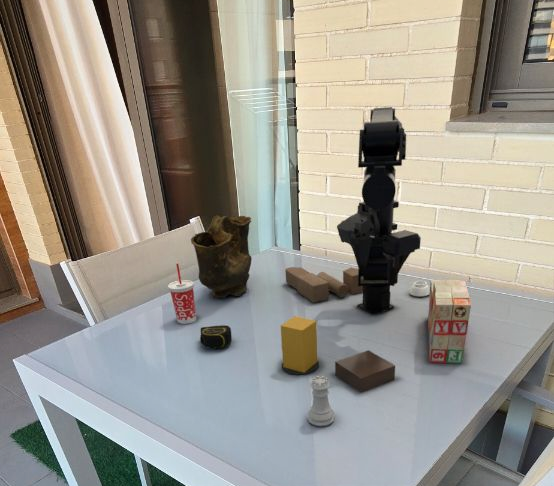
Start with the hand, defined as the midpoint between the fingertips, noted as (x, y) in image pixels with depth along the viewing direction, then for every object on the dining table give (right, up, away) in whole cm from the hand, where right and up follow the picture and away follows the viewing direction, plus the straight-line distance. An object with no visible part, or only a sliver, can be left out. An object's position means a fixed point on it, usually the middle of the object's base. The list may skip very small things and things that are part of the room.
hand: (375, 277), depth 111 cm
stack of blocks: (+15, -13, +3) cm, 20 cm away
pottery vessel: (-33, +6, +36) cm, 50 cm away
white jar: (+16, +2, +25) cm, 30 cm away
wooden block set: (-7, +6, +34) cm, 35 cm away
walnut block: (-4, -21, -8) cm, 23 cm away
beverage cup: (-42, -5, +22) cm, 48 cm away
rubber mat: (-16, -18, -2) cm, 24 cm away
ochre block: (-16, -18, -2) cm, 24 cm away
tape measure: (-34, -13, +9) cm, 37 cm away
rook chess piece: (-13, -30, -19) cm, 37 cm away
